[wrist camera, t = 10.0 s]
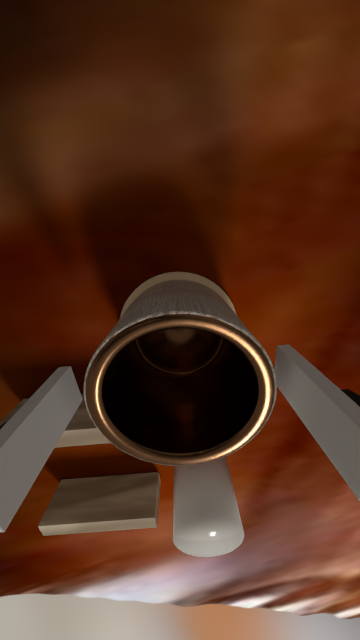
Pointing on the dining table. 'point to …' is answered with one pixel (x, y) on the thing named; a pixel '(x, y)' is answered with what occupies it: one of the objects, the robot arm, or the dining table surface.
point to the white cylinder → (205, 510)
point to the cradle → (98, 490)
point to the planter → (179, 378)
